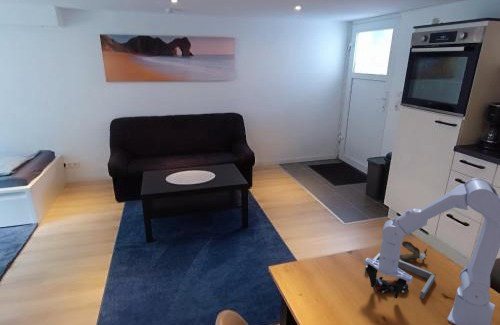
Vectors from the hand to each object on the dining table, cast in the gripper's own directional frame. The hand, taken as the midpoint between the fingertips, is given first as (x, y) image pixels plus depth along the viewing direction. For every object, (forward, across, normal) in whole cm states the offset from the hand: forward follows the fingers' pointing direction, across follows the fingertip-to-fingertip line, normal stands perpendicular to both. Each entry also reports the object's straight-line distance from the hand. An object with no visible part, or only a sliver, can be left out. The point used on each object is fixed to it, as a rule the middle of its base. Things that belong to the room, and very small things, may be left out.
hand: (384, 290), depth 102 cm
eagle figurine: (+2, 0, +28) cm, 28 cm away
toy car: (+2, +1, +5) cm, 6 cm away
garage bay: (+2, 0, +14) cm, 14 cm away
